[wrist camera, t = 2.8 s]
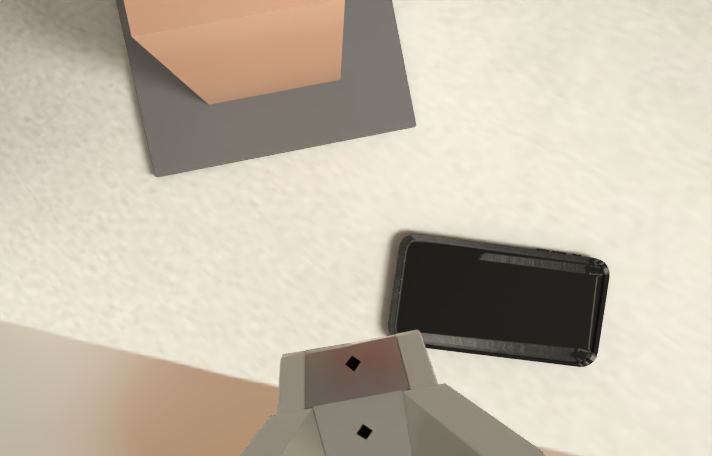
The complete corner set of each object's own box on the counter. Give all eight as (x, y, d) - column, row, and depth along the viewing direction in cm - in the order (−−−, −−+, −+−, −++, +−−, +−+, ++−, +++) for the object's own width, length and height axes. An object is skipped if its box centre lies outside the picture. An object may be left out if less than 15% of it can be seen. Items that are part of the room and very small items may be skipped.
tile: (340, 79, 32) (345, -3, 20) (208, 104, 31) (131, 36, 19) (333, 46, 31) (334, -57, 19) (201, 70, 31) (119, -20, 19)
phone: (595, 368, 33) (387, 343, 32) (586, 363, 34) (385, 338, 33) (612, 259, 33) (403, 230, 32) (602, 257, 34) (400, 230, 33)
